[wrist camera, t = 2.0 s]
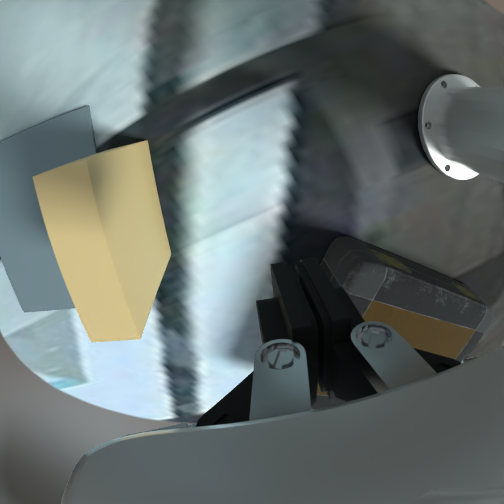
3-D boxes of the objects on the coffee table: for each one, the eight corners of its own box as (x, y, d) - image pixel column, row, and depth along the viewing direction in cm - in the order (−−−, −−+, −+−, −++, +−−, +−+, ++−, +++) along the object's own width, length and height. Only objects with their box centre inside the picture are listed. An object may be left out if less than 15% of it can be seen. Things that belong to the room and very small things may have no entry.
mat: (89, 105, 25) (87, 105, 25) (136, 299, 34) (135, 301, 34) (-25, 155, 25) (-27, 156, 25) (25, 310, 34) (24, 312, 34)
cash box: (264, 365, 40) (270, 410, 33) (334, 228, 33) (361, 259, 26) (400, 385, 45) (418, 419, 38) (469, 285, 38) (500, 313, 31)
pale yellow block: (147, 140, 28) (86, 159, 15) (171, 253, 33) (140, 339, 20) (107, 149, 28) (29, 178, 15) (134, 259, 32) (88, 342, 20)
